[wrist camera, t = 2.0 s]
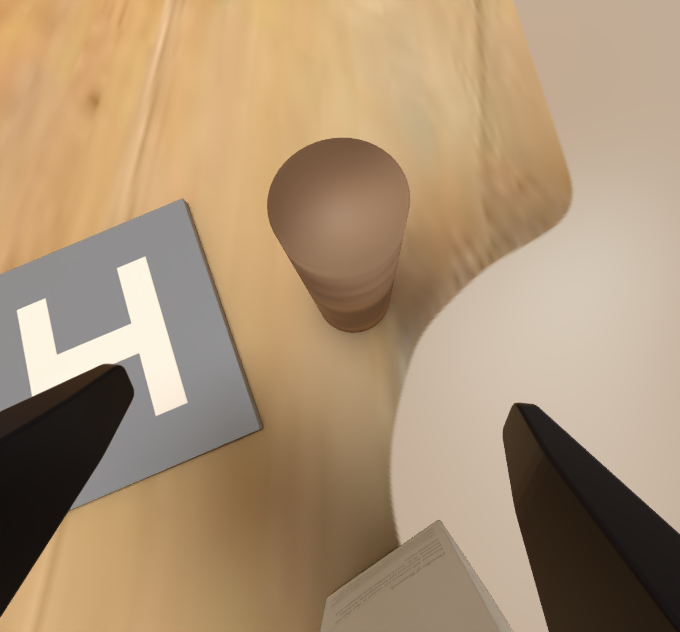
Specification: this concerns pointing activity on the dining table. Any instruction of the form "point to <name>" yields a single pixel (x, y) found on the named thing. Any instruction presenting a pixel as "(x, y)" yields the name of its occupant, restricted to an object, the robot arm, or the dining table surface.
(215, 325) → the letter board
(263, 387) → the dining table surface
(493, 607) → the supplement box
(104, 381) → the robot arm
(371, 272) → the walnut pillar
